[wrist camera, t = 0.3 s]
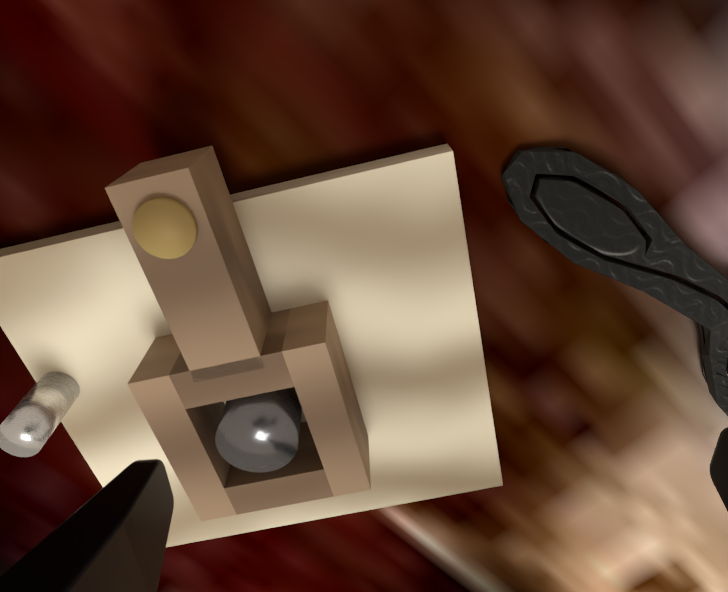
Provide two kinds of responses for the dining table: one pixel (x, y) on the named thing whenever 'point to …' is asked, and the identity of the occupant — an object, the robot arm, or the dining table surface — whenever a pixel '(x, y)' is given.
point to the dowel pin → (38, 414)
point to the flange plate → (231, 346)
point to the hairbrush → (621, 243)
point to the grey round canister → (260, 430)
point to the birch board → (285, 291)
